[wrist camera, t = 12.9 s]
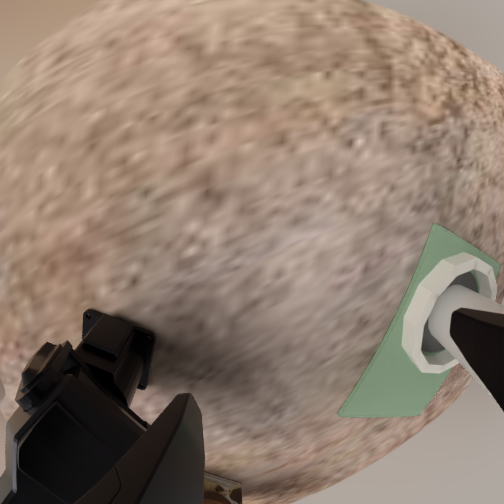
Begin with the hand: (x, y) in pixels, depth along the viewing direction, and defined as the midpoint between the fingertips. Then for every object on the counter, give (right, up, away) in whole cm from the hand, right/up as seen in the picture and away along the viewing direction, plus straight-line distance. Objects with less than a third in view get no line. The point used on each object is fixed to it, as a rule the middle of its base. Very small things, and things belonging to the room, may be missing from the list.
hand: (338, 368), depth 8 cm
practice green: (+16, -6, +16) cm, 23 cm away
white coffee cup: (+17, -2, +15) cm, 22 cm away
